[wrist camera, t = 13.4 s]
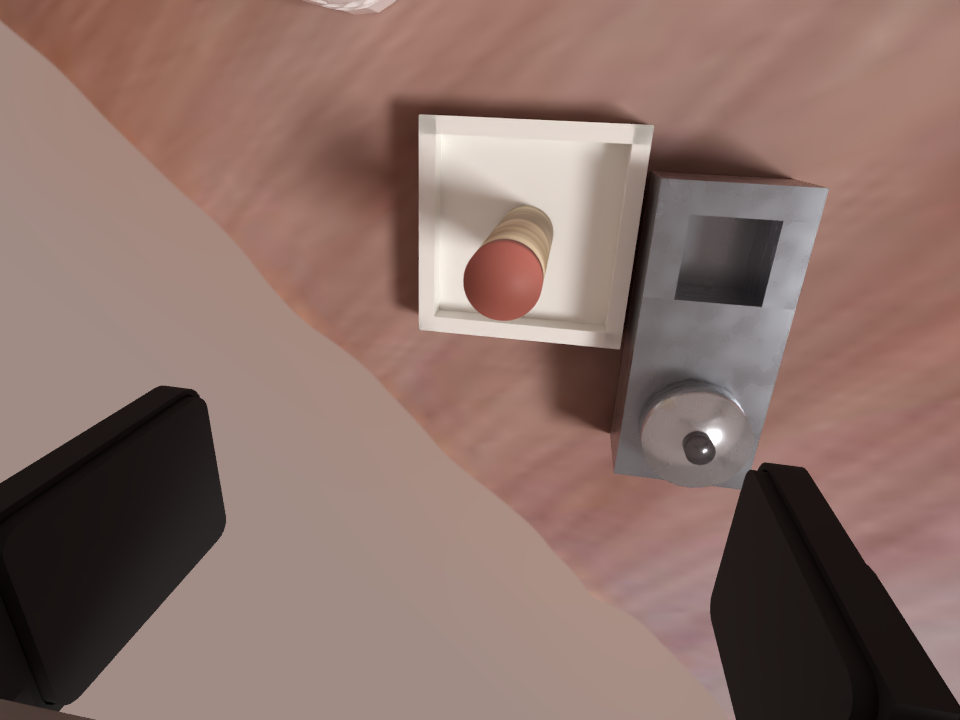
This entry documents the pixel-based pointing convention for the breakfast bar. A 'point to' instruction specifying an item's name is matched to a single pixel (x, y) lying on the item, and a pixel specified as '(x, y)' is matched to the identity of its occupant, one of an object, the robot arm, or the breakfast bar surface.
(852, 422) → the breakfast bar surface
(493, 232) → the lock pin
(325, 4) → the white cup
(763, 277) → the block
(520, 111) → the breakfast bar surface
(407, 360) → the breakfast bar surface
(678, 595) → the breakfast bar surface
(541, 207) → the tray
